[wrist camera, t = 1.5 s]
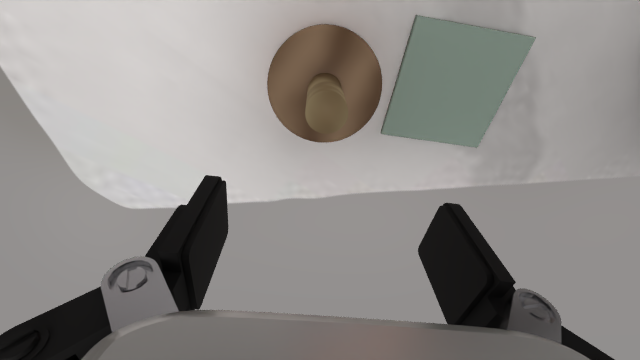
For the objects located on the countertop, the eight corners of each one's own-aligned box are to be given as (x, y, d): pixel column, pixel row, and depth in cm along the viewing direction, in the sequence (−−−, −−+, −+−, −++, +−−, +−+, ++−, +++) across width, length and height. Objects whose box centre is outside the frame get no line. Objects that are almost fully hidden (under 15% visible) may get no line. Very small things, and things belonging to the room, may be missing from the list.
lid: (395, 35, 26) (420, 47, 20) (365, 145, 33) (377, 181, 26) (271, 13, 25) (255, 18, 19) (266, 132, 32) (253, 165, 25)
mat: (532, 36, 31) (536, 37, 30) (475, 145, 38) (477, 147, 38) (415, 15, 29) (417, 15, 29) (380, 132, 37) (381, 134, 37)
